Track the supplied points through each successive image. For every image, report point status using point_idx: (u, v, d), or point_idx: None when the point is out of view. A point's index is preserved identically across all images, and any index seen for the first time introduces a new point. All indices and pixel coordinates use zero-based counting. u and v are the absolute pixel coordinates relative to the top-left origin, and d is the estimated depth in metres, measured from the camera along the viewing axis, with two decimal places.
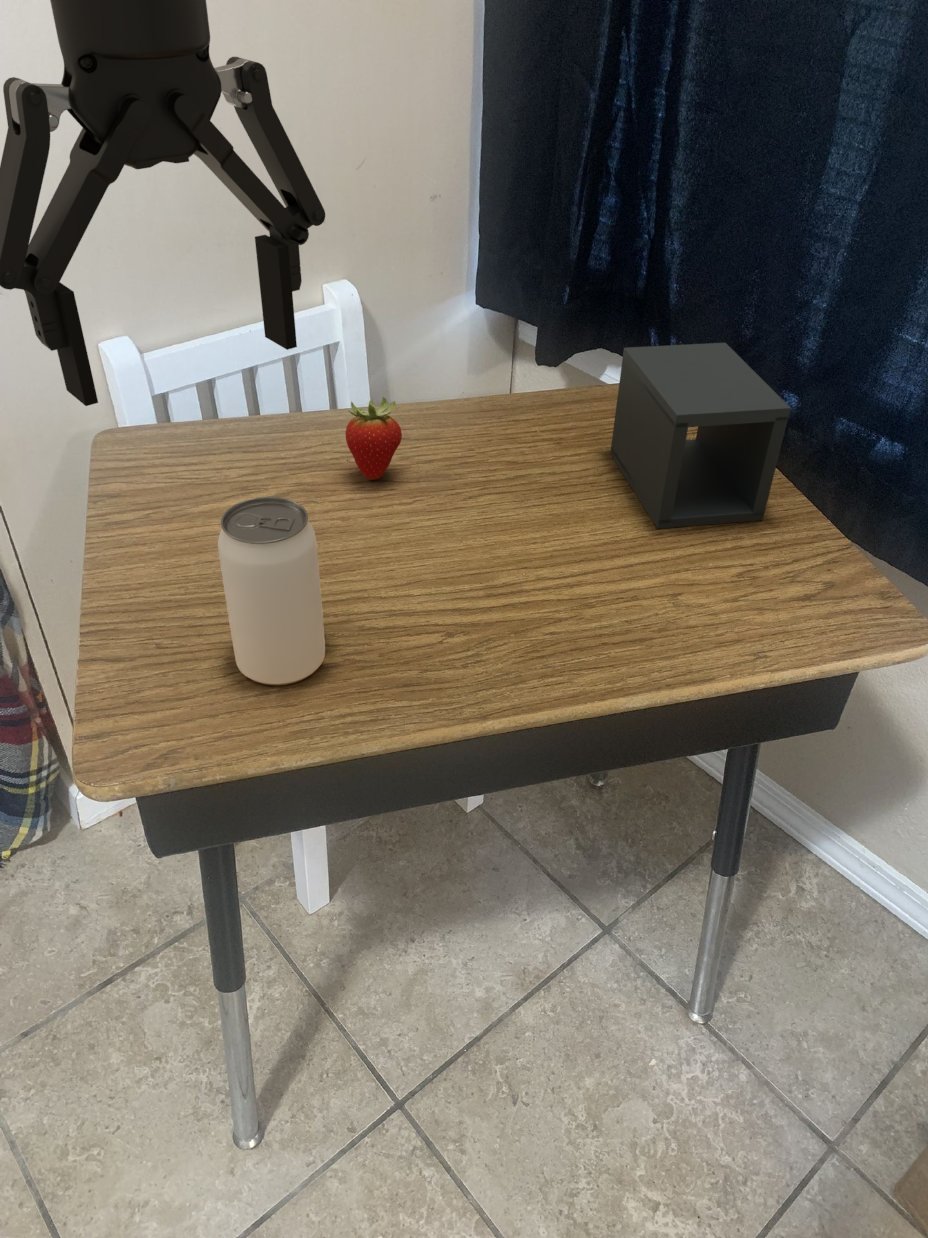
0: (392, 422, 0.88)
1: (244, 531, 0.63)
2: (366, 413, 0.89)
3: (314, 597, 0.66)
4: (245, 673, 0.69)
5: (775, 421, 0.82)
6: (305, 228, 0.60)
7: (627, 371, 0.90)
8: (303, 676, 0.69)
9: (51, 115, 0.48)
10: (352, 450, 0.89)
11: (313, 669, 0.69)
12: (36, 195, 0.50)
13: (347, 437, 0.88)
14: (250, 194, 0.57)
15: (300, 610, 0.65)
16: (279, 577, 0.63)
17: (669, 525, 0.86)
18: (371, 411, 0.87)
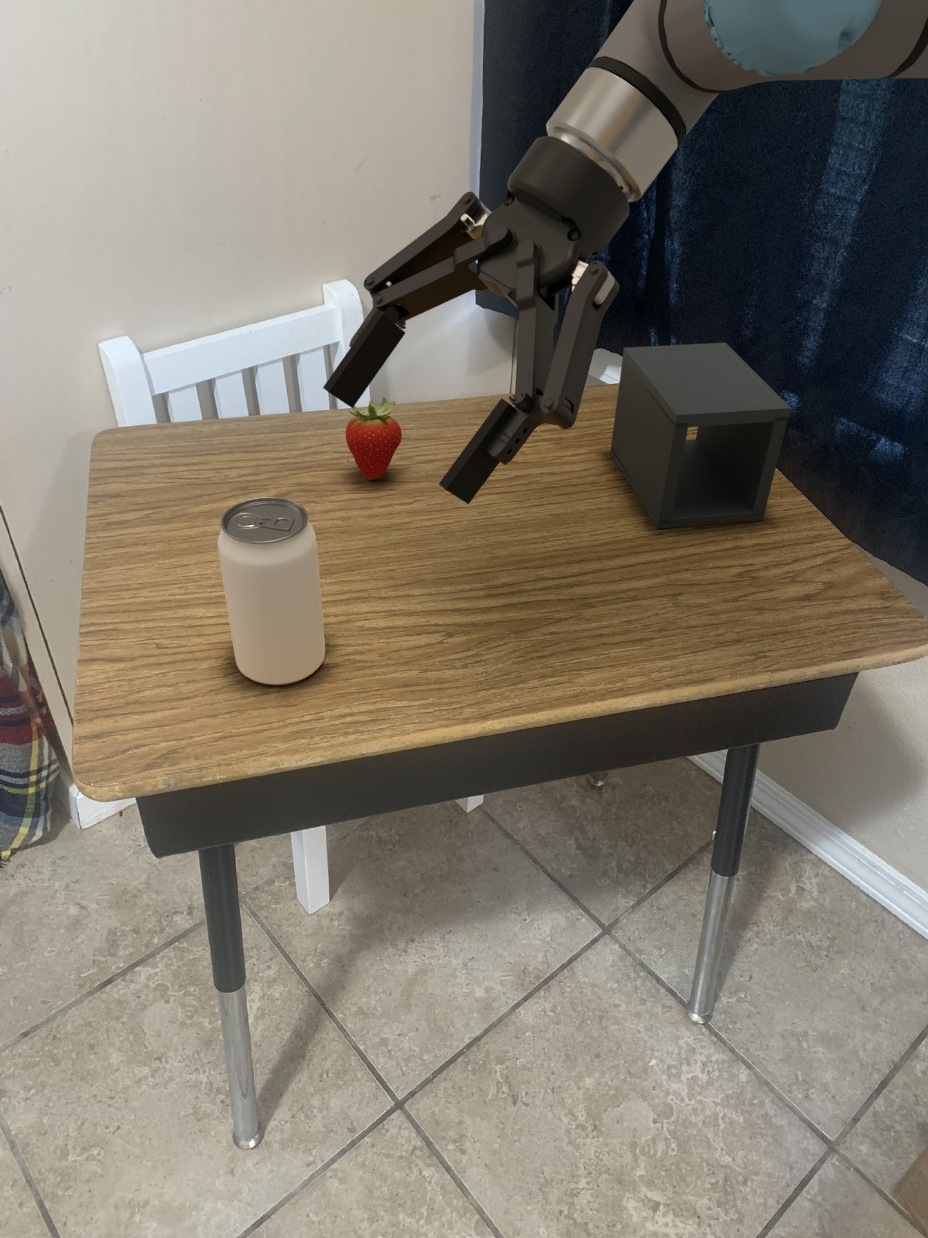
0: (392, 422, 0.88)
1: (244, 531, 0.63)
2: (366, 413, 0.89)
3: (314, 597, 0.66)
4: (245, 673, 0.69)
5: (775, 421, 0.82)
6: (525, 393, 0.58)
7: (627, 371, 0.90)
8: (303, 676, 0.69)
9: (466, 214, 0.65)
10: (352, 450, 0.89)
11: (313, 669, 0.69)
12: (420, 248, 0.67)
13: (347, 437, 0.88)
14: (520, 345, 0.60)
15: (300, 610, 0.65)
16: (279, 577, 0.63)
17: (669, 525, 0.86)
18: (371, 411, 0.87)
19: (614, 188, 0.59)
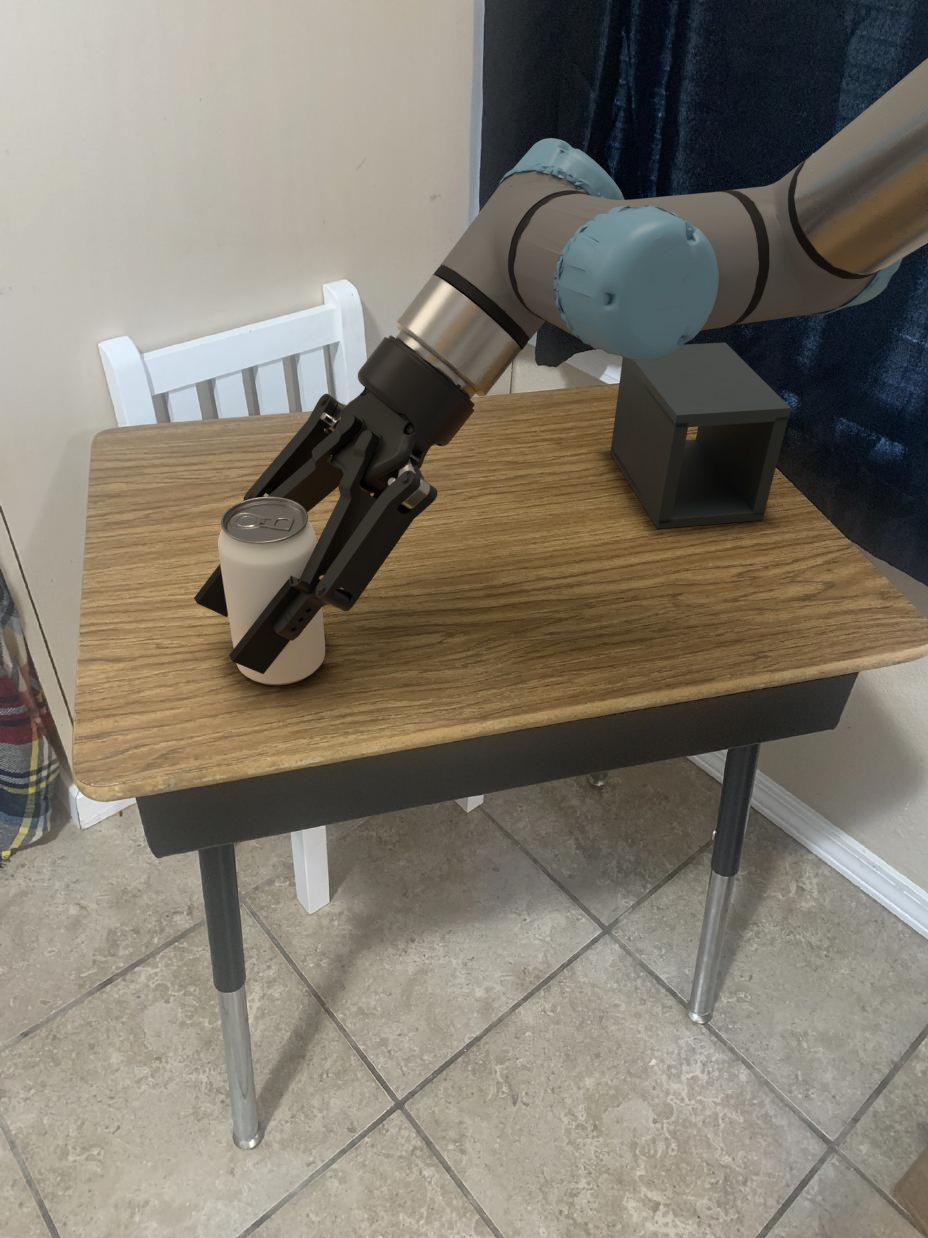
0: None
1: (244, 531, 0.63)
2: None
3: None
4: (245, 673, 0.69)
5: (775, 421, 0.82)
6: (300, 580, 0.62)
7: (627, 371, 0.90)
8: (303, 676, 0.69)
9: (325, 412, 0.68)
10: None
11: (313, 669, 0.69)
12: (289, 454, 0.69)
13: None
14: (325, 529, 0.63)
15: None
16: (279, 577, 0.63)
17: (669, 525, 0.86)
18: None
19: (447, 387, 0.61)
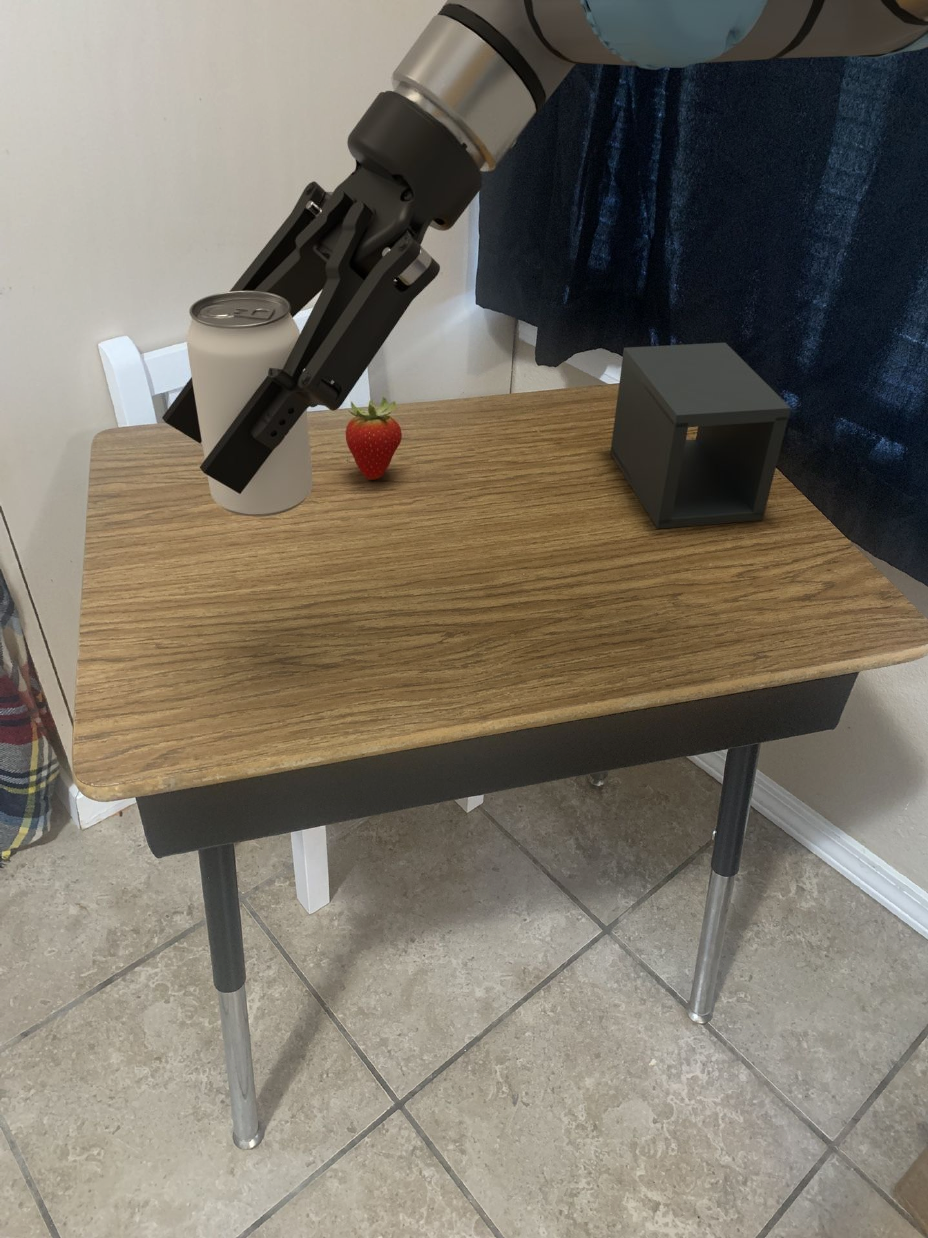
0: (392, 422, 0.88)
1: (216, 319, 0.54)
2: (366, 413, 0.89)
3: None
4: (221, 502, 0.60)
5: (775, 421, 0.82)
6: (281, 370, 0.53)
7: (627, 371, 0.90)
8: (287, 506, 0.60)
9: (311, 201, 0.59)
10: (352, 450, 0.89)
11: (298, 499, 0.61)
12: (271, 251, 0.60)
13: (347, 437, 0.88)
14: (310, 316, 0.54)
15: None
16: (257, 371, 0.54)
17: (669, 525, 0.86)
18: (371, 411, 0.87)
19: (451, 143, 0.53)
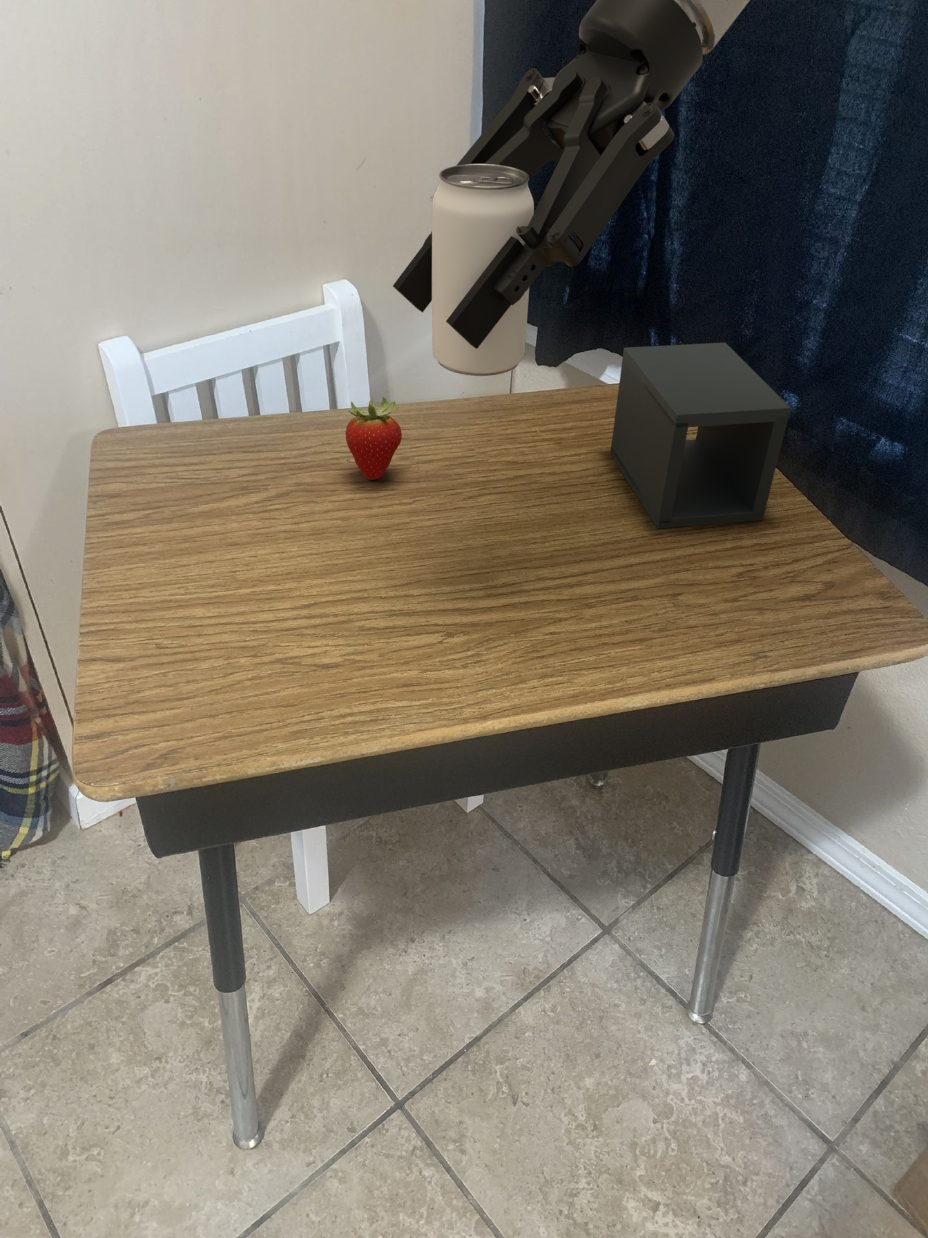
0: (392, 422, 0.88)
1: (465, 184, 0.60)
2: (366, 413, 0.89)
3: None
4: (448, 363, 0.66)
5: (775, 421, 0.82)
6: (530, 227, 0.59)
7: (627, 371, 0.90)
8: (508, 366, 0.66)
9: (533, 85, 0.65)
10: (352, 450, 0.89)
11: (517, 360, 0.66)
12: (494, 132, 0.66)
13: (347, 437, 0.88)
14: (551, 181, 0.60)
15: None
16: (503, 231, 0.60)
17: (669, 525, 0.86)
18: (371, 411, 0.87)
19: (686, 21, 0.58)
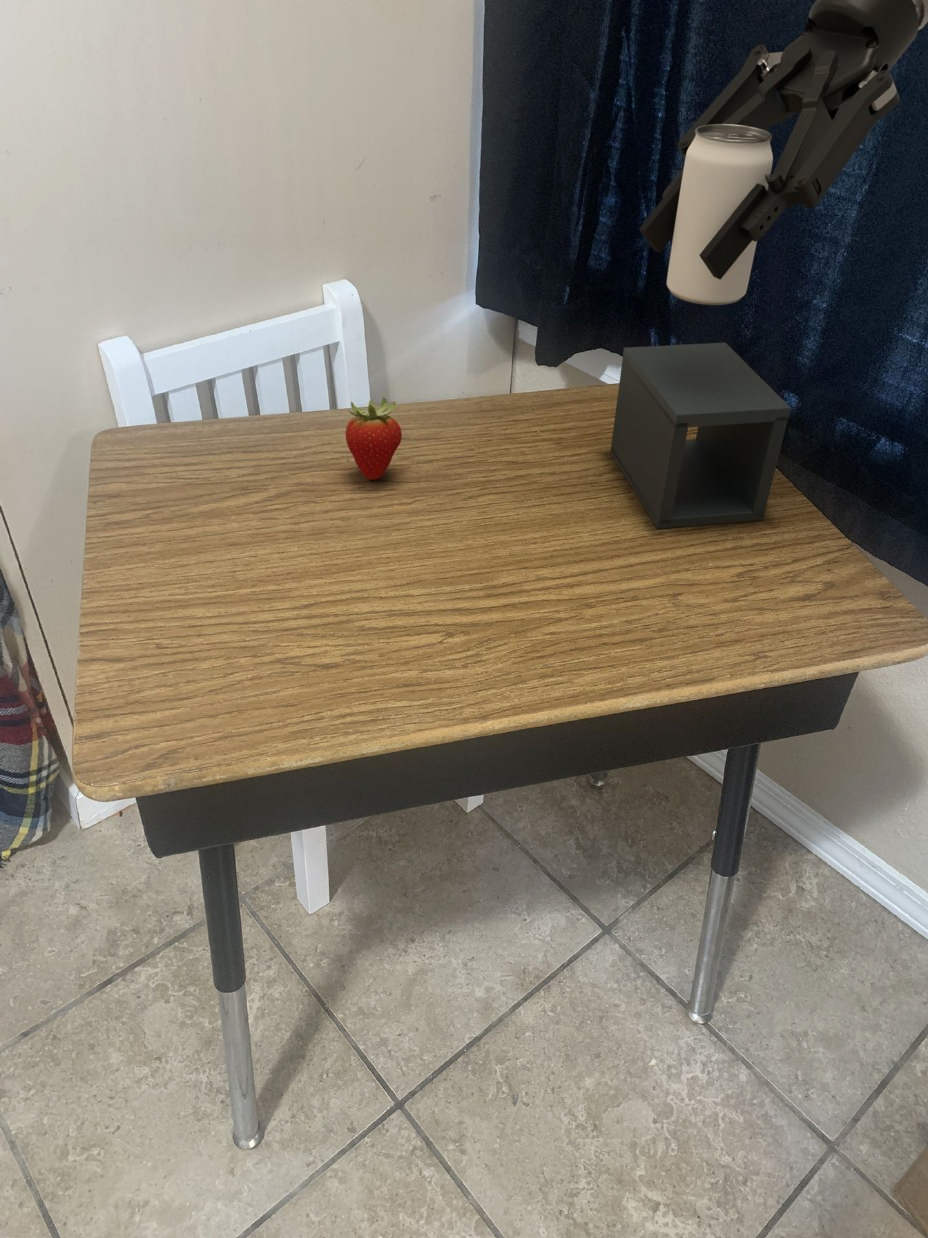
0: (392, 422, 0.88)
1: None
2: (366, 413, 0.89)
3: None
4: (686, 294, 0.78)
5: (775, 421, 0.82)
6: (779, 174, 0.71)
7: (627, 371, 0.90)
8: (737, 296, 0.78)
9: (761, 58, 0.77)
10: (352, 450, 0.89)
11: (743, 292, 0.78)
12: (726, 98, 0.77)
13: (347, 437, 0.88)
14: (791, 137, 0.72)
15: None
16: (752, 178, 0.72)
17: (669, 525, 0.86)
18: (371, 411, 0.87)
19: (910, 3, 0.70)
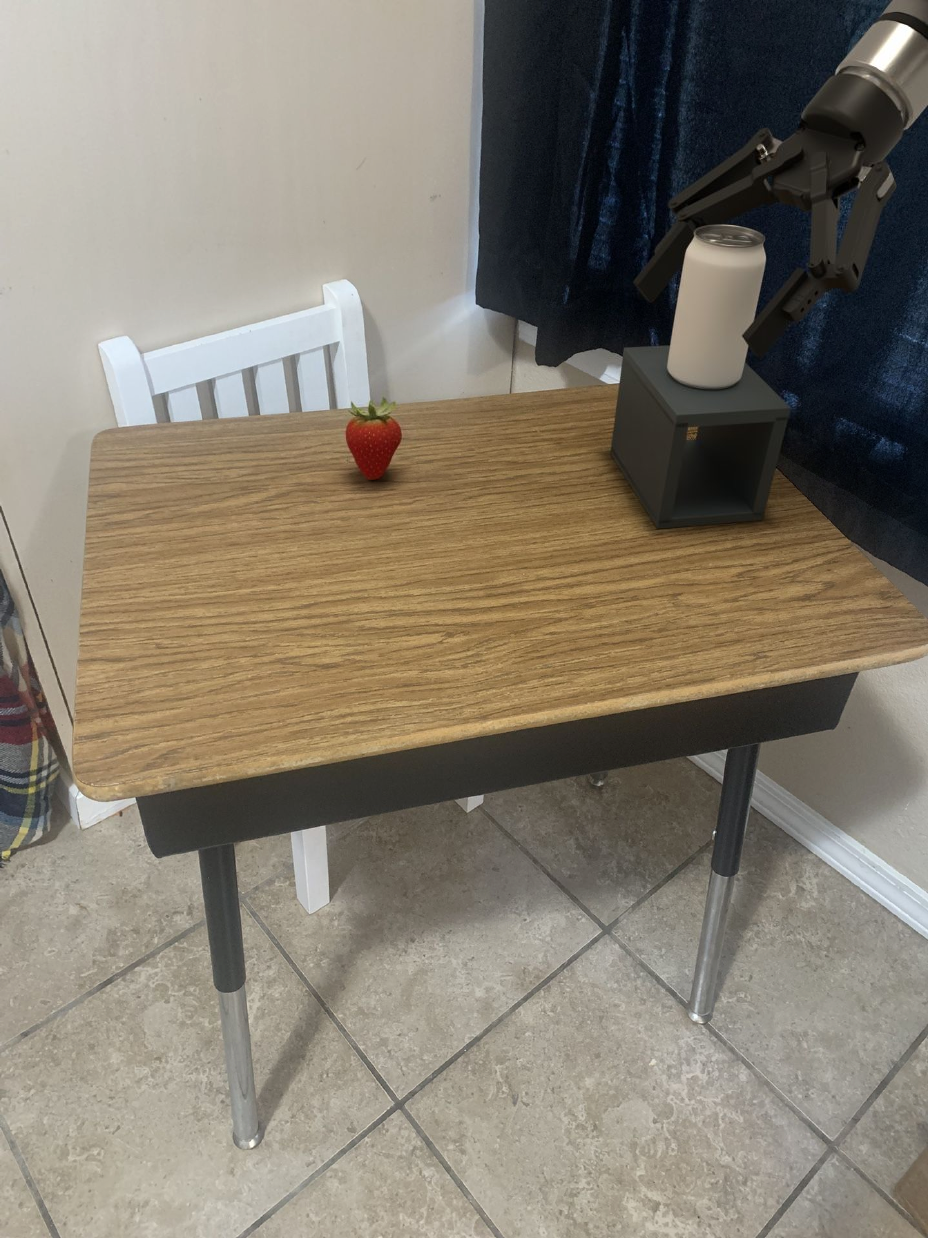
0: (392, 422, 0.88)
1: (717, 242, 0.78)
2: (366, 413, 0.89)
3: None
4: (685, 379, 0.83)
5: (775, 421, 0.82)
6: (821, 259, 0.73)
7: (627, 371, 0.90)
8: (733, 382, 0.83)
9: (761, 144, 0.82)
10: (352, 450, 0.89)
11: (739, 377, 0.84)
12: (720, 173, 0.84)
13: (347, 437, 0.88)
14: (813, 229, 0.76)
15: (749, 315, 0.80)
16: (746, 279, 0.78)
17: (669, 525, 0.86)
18: (371, 411, 0.87)
19: (895, 110, 0.75)
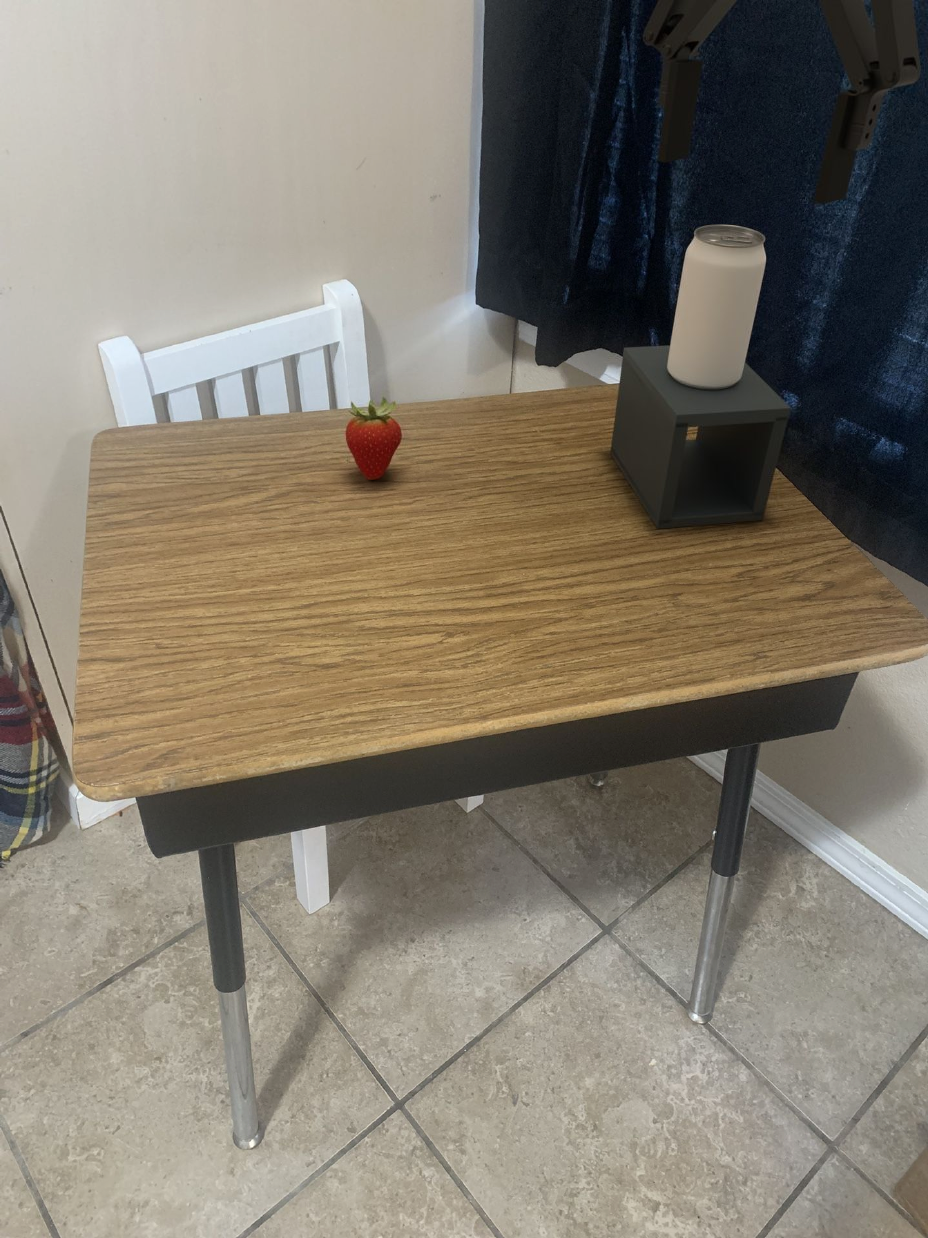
0: (392, 422, 0.88)
1: (717, 242, 0.78)
2: (366, 413, 0.89)
3: None
4: (685, 379, 0.83)
5: (775, 421, 0.82)
6: (862, 80, 0.59)
7: (627, 371, 0.90)
8: (733, 382, 0.83)
9: None
10: (352, 450, 0.89)
11: (739, 378, 0.84)
12: None
13: (347, 437, 0.88)
14: (833, 30, 0.60)
15: (749, 315, 0.80)
16: (746, 279, 0.78)
17: (669, 525, 0.86)
18: (371, 411, 0.87)
19: None
